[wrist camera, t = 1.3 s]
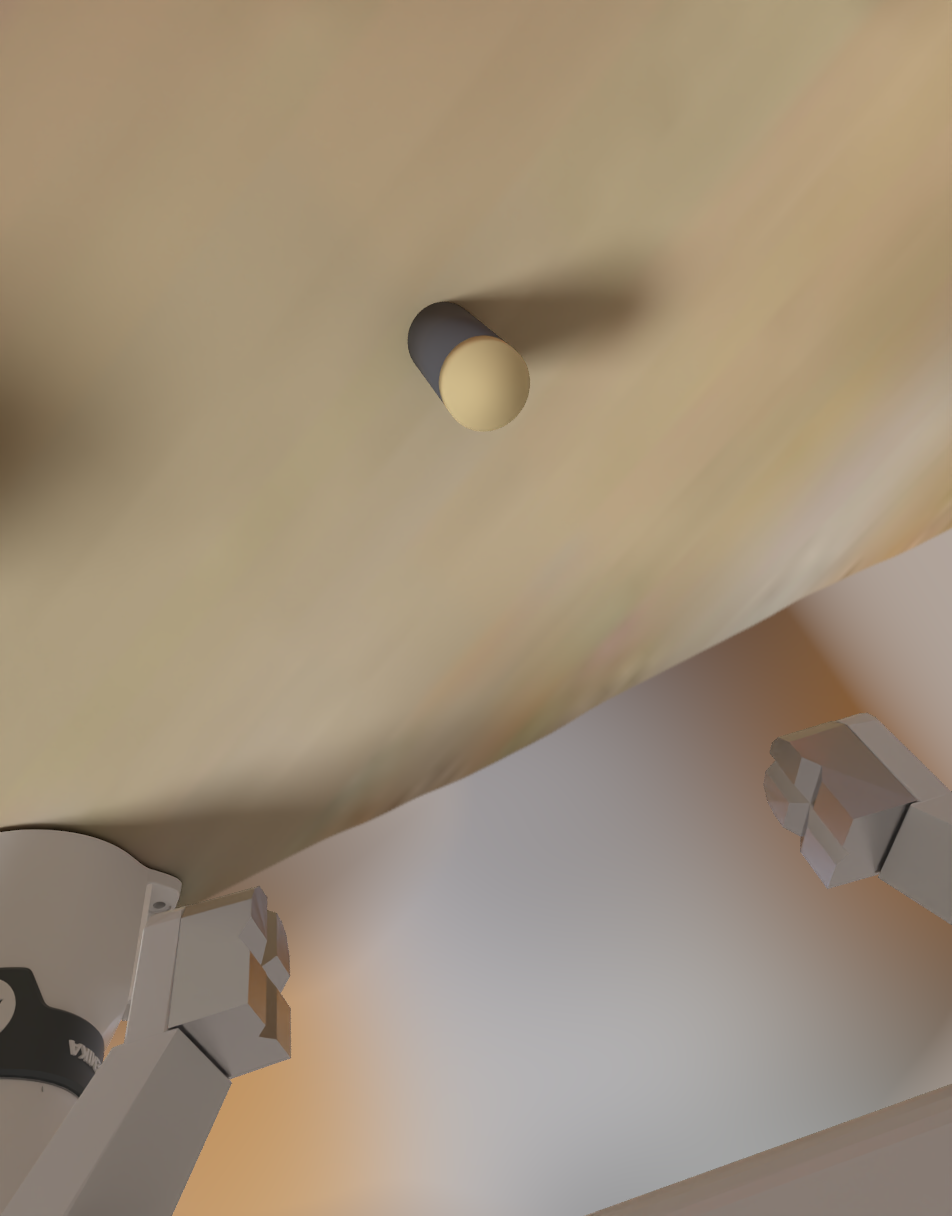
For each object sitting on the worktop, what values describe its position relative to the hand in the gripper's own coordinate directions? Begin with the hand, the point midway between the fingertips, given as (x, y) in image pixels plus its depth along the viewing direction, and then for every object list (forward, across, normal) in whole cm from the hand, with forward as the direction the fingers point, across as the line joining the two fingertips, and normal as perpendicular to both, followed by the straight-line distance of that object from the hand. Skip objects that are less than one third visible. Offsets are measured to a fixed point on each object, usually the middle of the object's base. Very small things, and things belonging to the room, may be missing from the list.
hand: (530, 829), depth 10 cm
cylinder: (+28, -4, +1) cm, 29 cm away
